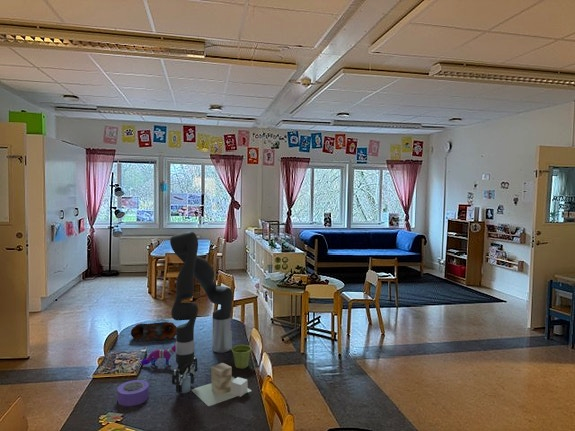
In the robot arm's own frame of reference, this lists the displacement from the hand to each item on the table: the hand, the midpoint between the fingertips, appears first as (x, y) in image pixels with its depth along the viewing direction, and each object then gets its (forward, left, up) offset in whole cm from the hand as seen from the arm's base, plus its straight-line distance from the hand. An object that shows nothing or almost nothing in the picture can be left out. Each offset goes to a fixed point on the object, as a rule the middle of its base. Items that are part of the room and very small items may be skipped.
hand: (185, 387), depth 171 cm
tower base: (-12, +9, -1) cm, 15 cm away
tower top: (-12, +9, +4) cm, 16 cm away
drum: (0, 0, -1) cm, 1 cm away
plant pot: (-31, -6, -2) cm, 32 cm away
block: (-17, +15, -1) cm, 23 cm away
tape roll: (+19, -7, -2) cm, 20 cm away
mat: (-12, +9, -1) cm, 15 cm away
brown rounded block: (-13, -69, -2) cm, 70 cm away
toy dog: (-1, -29, -2) cm, 29 cm away
